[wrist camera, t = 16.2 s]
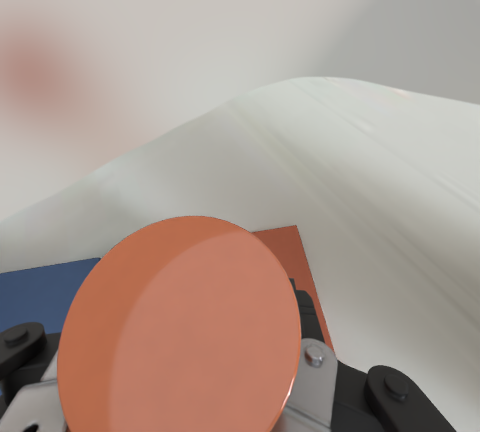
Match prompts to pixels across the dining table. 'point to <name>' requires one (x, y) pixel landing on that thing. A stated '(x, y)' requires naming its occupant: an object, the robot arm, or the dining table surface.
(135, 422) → the terracotta canister
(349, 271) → the dining table surface
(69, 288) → the blue mat
